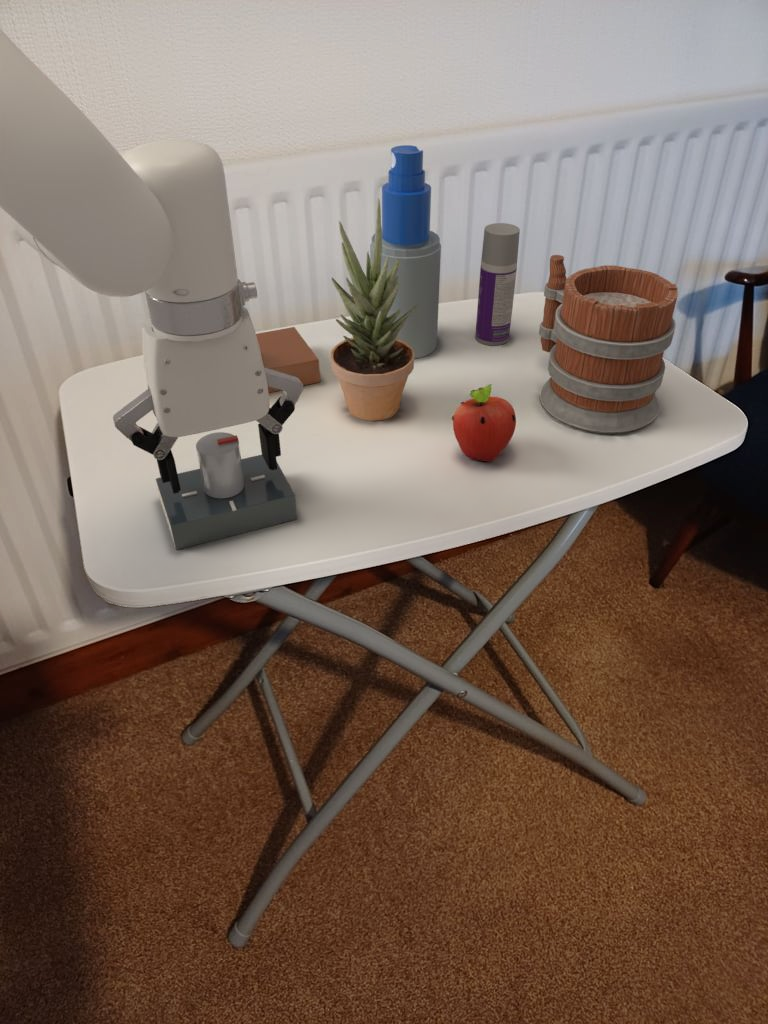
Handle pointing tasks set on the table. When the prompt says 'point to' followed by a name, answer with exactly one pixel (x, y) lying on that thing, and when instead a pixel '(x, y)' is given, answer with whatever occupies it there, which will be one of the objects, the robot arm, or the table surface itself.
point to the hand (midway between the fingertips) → (222, 473)
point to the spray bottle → (411, 248)
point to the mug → (605, 345)
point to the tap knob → (220, 465)
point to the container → (497, 283)
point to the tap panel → (226, 505)
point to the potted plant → (371, 336)
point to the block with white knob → (288, 355)
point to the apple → (484, 425)
